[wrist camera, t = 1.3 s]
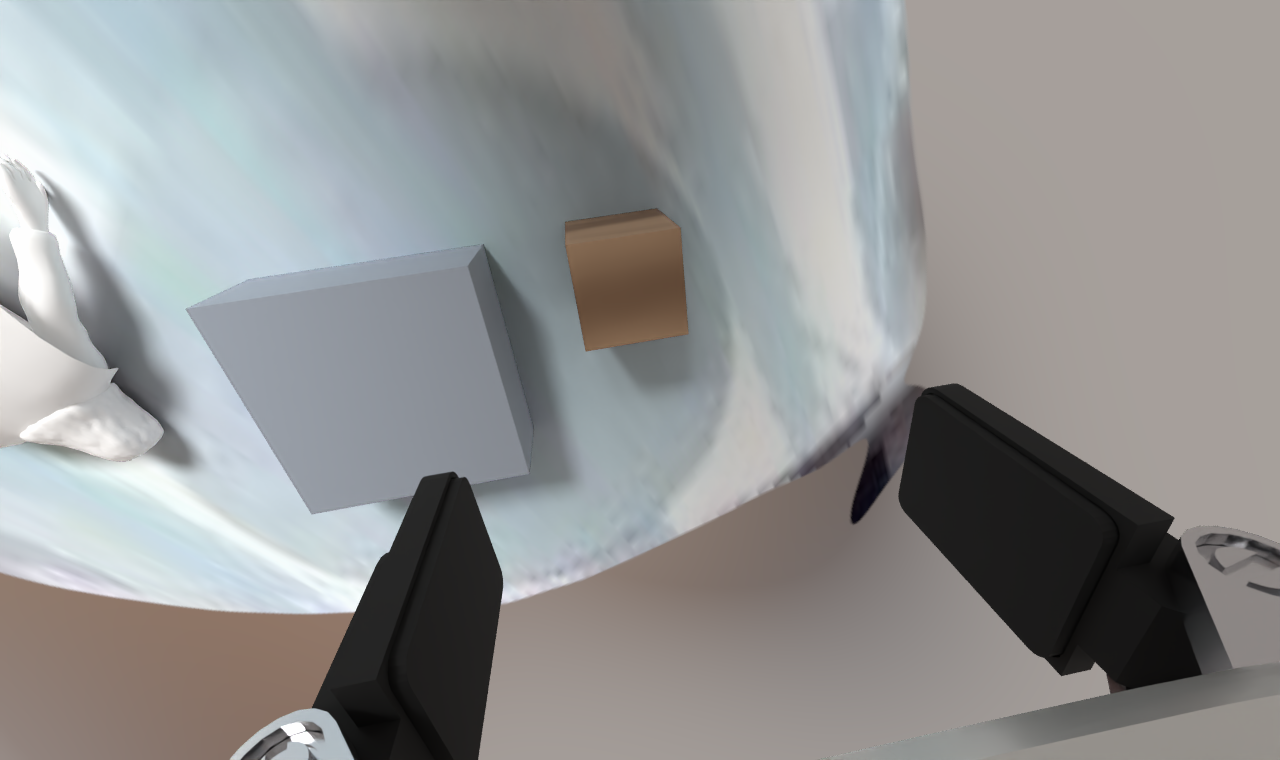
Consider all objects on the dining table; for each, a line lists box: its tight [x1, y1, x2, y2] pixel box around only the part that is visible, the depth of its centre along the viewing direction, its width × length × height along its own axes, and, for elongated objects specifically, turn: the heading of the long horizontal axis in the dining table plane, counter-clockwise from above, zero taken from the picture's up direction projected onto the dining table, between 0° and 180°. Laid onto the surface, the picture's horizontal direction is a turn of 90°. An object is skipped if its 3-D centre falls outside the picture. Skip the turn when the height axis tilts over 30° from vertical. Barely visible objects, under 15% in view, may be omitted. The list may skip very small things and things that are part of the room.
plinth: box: [186, 244, 534, 514], centre depth 26 cm, size 12×12×5 cm
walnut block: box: [565, 208, 688, 351], centre depth 24 cm, size 5×5×6 cm
